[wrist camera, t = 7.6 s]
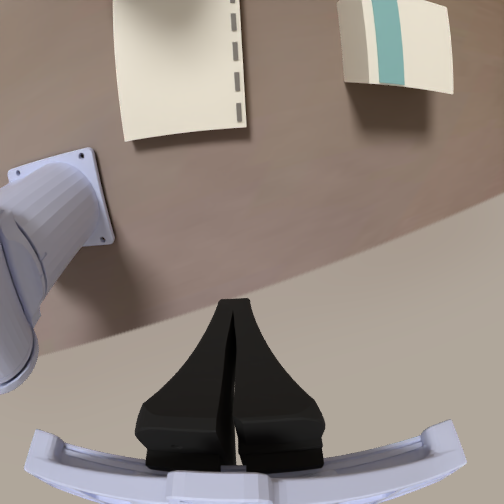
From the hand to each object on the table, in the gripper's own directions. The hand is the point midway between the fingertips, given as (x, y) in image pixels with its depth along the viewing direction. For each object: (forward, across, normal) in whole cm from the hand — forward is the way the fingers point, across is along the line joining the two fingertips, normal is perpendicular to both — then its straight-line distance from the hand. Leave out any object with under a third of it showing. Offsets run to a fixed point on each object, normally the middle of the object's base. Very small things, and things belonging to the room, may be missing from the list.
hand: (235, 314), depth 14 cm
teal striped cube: (+10, -10, -13) cm, 20 cm away
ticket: (+10, +3, -13) cm, 17 cm away
